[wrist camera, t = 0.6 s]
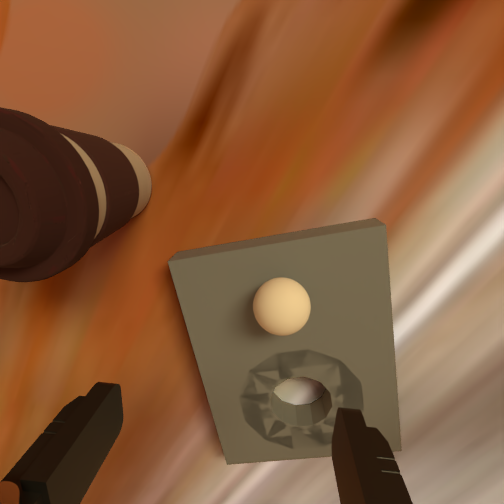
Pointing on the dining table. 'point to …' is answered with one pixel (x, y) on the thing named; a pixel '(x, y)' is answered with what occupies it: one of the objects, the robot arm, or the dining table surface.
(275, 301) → the ball
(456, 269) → the dining table surface
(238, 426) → the grey flat block
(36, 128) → the coffee cup
